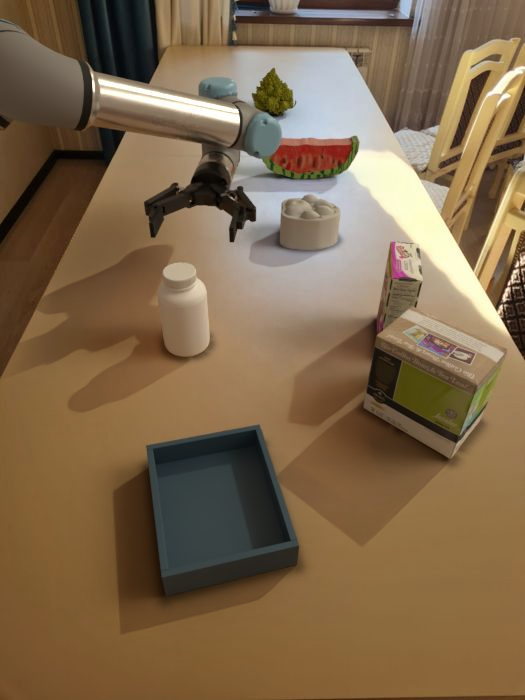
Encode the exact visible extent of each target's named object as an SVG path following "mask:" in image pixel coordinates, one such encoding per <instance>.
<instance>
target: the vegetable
mask: <svg viewBox="0 0 525 700" xmlns="http://www.w3.org/2000/svg"><path fill="white" fill-rule="evenodd" d="M251 99H252V100H253V105H254V106H253V107H254V108H256V109H258V110H260V111H262V112H264V113H265V112H266V113H268V114H269V115H276V116H282V115H283V116H284V115H285V112H287V111H288V110H289V109H294V107H295V106H296V105H297V99H295V100H294V92H293V89H291V88H289V87H288V84H287V82H285V81H284V82H283V79H281V78H280V76H279V74H277V73H276V68H275V67H273V68H271V69H270V71H268V72H266V74H265V76H264V77H262V80H260V81H259V85H258V86H257V85H256V90H255V92H251Z"/></svg>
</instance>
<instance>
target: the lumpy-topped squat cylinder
mask: <svg viewBox="0 0 525 700" xmlns="http://www.w3.org/2000/svg"><path fill="white" fill-rule="evenodd" d="M341 212H342V211H341V208H339V207H338V205H336V204H335V203H333V202H330V201H329V200H326V199H322V198H318V197H317V196H316V195H314V194H310V193H309V194H305V195H303V196H302V197H291V198H287V199H284V200H282V202H281V209H280V220H279V221H280V222H279V223H280V226H279V244H280V245H281V246H282V247H283V248H286V249H291V250H300V251H302V250H303V251H318V250H319V251H320V250H324V249H328V248H330V247H332V246H334V245H336V243H337V242H338V238H339V231H340V221H341Z"/></svg>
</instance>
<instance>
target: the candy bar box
mask: <svg viewBox="0 0 525 700" xmlns="http://www.w3.org/2000/svg"><path fill="white" fill-rule="evenodd" d="M423 282H424V279H423V269H422V259H421V248H420V244H419V243H413V242H403V241H402V242H400V241H390V243H389V248H388V253H387V259H386V265H385V270H384V276H383V283H382V287H381V293H380V299H379V303H378V310H377V315H376V316H377V317H376V336H377V335H378V334H379V333H381V332H382V331H383V330H384V329H385V328H386V327H388V326H389V325H390V324H391V323H392V322H394V321H395V320H396V319H397V318H398V317H399V316H401V315H402V314H403V313H404V312H405V311H406V310H408V309H409V308H410V307H411V306H412V307H415V308H417V307H418V302H419V297H420V293H421V288H422V285H423Z"/></svg>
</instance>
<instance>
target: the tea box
mask: <svg viewBox="0 0 525 700" xmlns="http://www.w3.org/2000/svg"><path fill="white" fill-rule="evenodd" d="M508 350H509V349H508V348H506V347H504V346H503V345H500V344H498V343H496V342H493V341H491V340H488V339H486V338H485V337H482V336H480V335H477V334H475V333H473V332H470V331H468V330H467V329H464V328H462V327H459V326H457V325H455V324H453V323H451V322H449V321H446V320H444V319H442V318H439V317H437V316H435V315H432V314H430V313H428V312H426V311H423V310H421V309H418V308H417V307H416V308H415V307H412V306H411V307H410V308H409V309H408V310H406V311H405V312H404V313H403V314H402V315H401V316H399V317H398V318H397V319H396V320H395V321H394V322H392V323H391V324H390V325H389V326H388V327H386V328H385V329H384V330H383V331H382V332H381V333H379V334H378V335H377V334H376V336H375V342H374V346H373V352H372V357H371V363H370V368H369V373H368V379H367V384H366V390H365V394H364V401H363V409H365V410H367V412H370V413H371V414H373V415H374V416H377V417H378V418H380V419H382V420H384V421H385V422H386V423H388V424H390V425H392V426H393V427H395V428H397V429H398V430H400V431H403V432H404V433H406V434H407V435H409V436H410V437H412V438H413V439H415V440H417V441H419V442H420V443H422V444H424V445H426V446H427V447H429V448H431V449H432V450H434V451H436V452H437V453H439V454H441V455H442V456H444V457H446V458H448V459H450V460H451V459H453V457H454V456H455V454H456V453H457V452H458V450H459V448H461V446H462V445H463V443H464V442H465V441H466V439H467V438H468V437H469V435H470V434H471V433H472V432H473V430H475V428H476V427H477V425H478V424H479V423H480V421H481V419H482V416H483V415H484V412H485V410H486V408H487V405H488V403H489V401H490V398H491V396H492V393H493V390H494V387H495V385H496V382H497V380H498V377H499V374H500V373H501V369H502V367H503V364H504V362H505V360H506V357H507V354H508Z"/></svg>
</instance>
